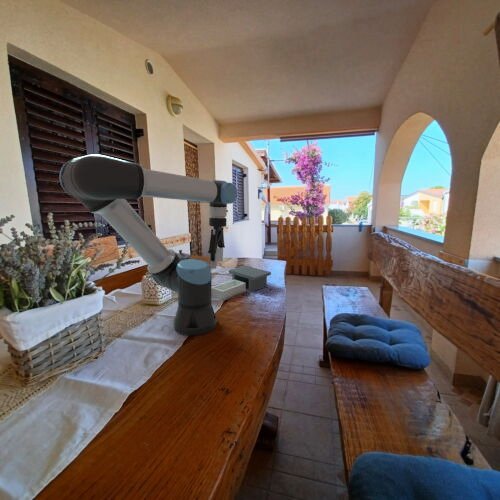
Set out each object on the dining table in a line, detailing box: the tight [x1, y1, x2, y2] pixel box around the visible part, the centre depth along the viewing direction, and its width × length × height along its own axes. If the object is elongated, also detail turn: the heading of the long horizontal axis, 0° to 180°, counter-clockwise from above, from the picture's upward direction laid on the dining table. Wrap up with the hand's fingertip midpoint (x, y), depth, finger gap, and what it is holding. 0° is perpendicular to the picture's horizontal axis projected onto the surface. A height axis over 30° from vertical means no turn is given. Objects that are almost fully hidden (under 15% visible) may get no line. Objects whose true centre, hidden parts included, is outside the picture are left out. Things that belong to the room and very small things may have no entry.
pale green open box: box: [211, 279, 247, 301], centre depth 122 cm, size 16×8×4 cm, turn 140°
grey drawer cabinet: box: [228, 265, 272, 293], centre depth 134 cm, size 13×18×8 cm
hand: (216, 264), depth 114 cm, fingers open, 13 cm apart
